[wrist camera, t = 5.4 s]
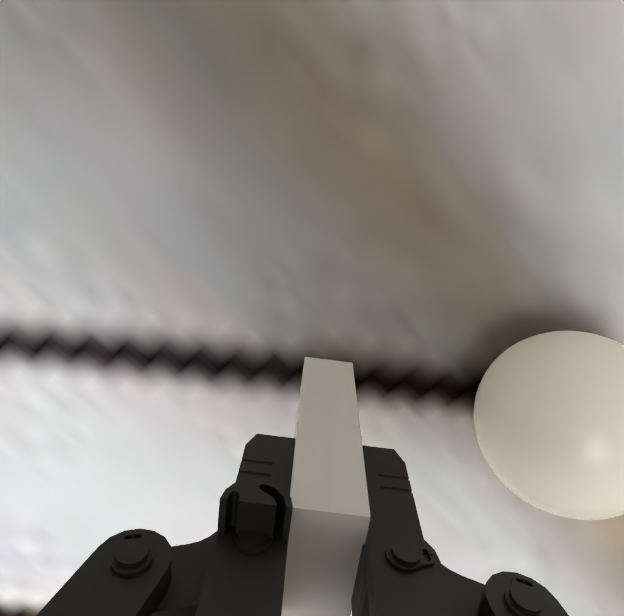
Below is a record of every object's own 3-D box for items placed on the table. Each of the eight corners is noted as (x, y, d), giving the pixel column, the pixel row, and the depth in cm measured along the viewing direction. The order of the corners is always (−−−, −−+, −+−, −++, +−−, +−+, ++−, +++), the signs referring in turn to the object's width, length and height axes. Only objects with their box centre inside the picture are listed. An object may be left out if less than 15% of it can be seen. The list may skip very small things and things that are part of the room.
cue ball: (441, 436, 18) (487, 555, 13) (472, 297, 16) (540, 372, 11) (587, 451, 18) (690, 575, 13) (633, 314, 16) (775, 396, 11)
